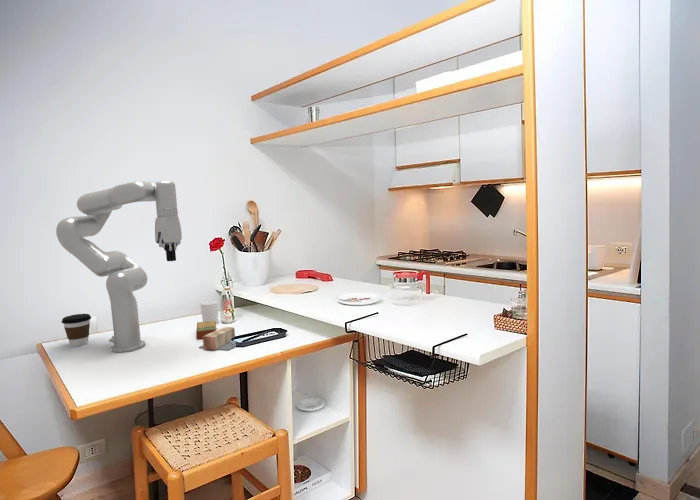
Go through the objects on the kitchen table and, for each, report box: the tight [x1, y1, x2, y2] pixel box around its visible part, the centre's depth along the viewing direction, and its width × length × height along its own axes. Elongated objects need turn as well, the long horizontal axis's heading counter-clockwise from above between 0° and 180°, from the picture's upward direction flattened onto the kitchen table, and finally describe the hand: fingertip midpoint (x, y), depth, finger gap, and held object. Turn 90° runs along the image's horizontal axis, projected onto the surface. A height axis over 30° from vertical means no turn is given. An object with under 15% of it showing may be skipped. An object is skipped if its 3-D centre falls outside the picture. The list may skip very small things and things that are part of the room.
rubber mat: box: [198, 342, 236, 352], centre depth 192 cm, size 14×16×1 cm
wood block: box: [202, 326, 236, 351], centre depth 189 cm, size 5×5×14 cm
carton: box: [195, 321, 217, 341], centre depth 207 cm, size 8×16×4 cm, turn 16°
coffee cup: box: [60, 313, 92, 347], centre depth 199 cm, size 11×11×12 cm
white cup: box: [199, 300, 219, 324], centre depth 225 cm, size 8×8×10 cm
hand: (171, 260), depth 184 cm, fingers closed
